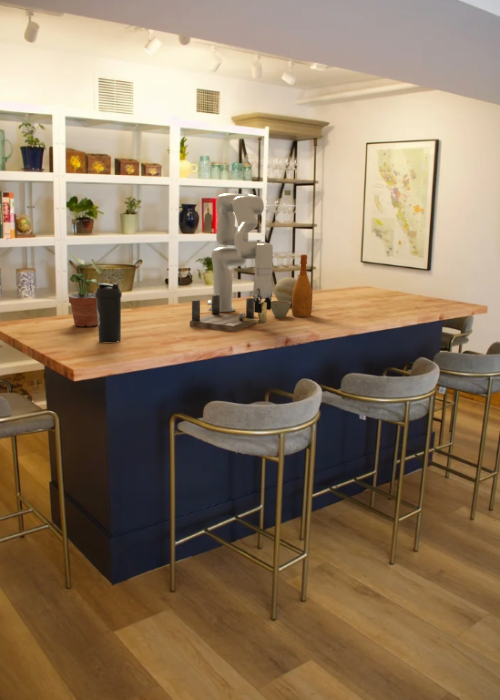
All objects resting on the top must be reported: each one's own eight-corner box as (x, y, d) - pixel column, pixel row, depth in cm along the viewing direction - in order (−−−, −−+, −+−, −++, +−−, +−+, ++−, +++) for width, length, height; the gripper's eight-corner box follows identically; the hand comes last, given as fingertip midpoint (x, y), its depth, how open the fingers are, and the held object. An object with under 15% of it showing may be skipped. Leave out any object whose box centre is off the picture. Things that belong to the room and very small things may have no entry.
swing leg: (237, 320, 291) (237, 300, 289) (241, 319, 294) (241, 299, 292) (264, 323, 286) (264, 303, 284) (267, 322, 289) (268, 302, 287)
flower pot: (288, 319, 312) (289, 304, 310) (268, 317, 314) (268, 303, 312) (291, 315, 322) (292, 301, 320) (271, 314, 324) (272, 300, 322)
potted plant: (77, 330, 278) (74, 247, 270) (64, 324, 290) (60, 244, 282) (111, 326, 287) (109, 246, 279) (97, 320, 299) (95, 243, 291)
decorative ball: (268, 304, 351) (269, 276, 348) (287, 301, 361) (288, 274, 358) (288, 308, 341) (289, 279, 337) (307, 305, 350) (308, 277, 347)
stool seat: (189, 326, 291) (189, 300, 288) (214, 318, 310) (214, 294, 308) (233, 331, 282) (233, 305, 279) (255, 323, 301) (256, 298, 298)
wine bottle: (313, 314, 324) (316, 254, 317) (308, 318, 315) (311, 255, 308) (294, 313, 327) (296, 253, 320) (289, 316, 318) (291, 254, 311)
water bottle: (98, 337, 265) (96, 281, 260) (124, 337, 266) (122, 281, 260) (95, 343, 255) (92, 285, 250) (121, 343, 256) (119, 285, 251)
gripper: (264, 269, 292) (263, 307, 296) (246, 273, 277) (246, 313, 281) (279, 270, 289) (278, 309, 292) (262, 274, 273) (262, 314, 277)
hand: (262, 311), depth 286 cm, fingers open, 9 cm apart
